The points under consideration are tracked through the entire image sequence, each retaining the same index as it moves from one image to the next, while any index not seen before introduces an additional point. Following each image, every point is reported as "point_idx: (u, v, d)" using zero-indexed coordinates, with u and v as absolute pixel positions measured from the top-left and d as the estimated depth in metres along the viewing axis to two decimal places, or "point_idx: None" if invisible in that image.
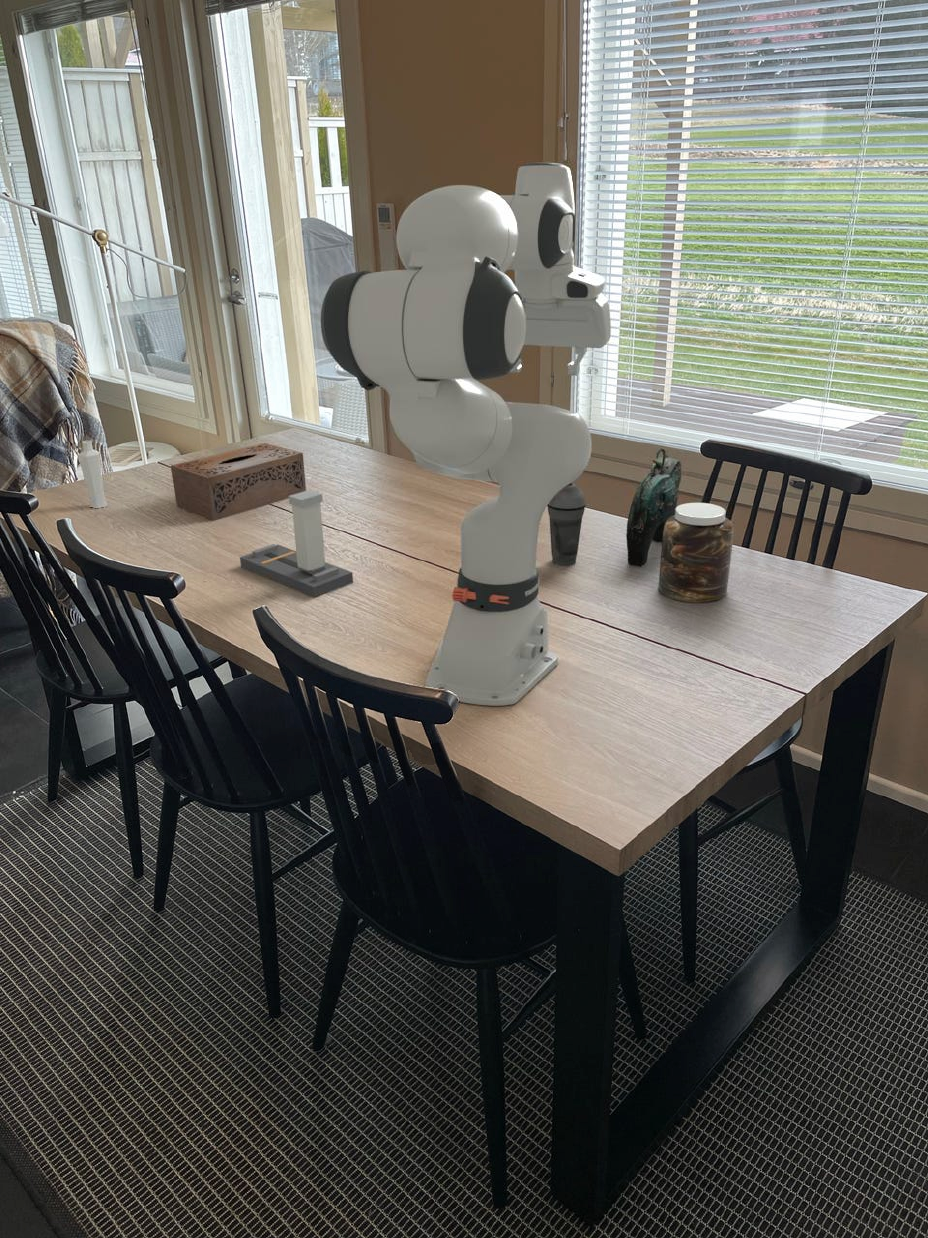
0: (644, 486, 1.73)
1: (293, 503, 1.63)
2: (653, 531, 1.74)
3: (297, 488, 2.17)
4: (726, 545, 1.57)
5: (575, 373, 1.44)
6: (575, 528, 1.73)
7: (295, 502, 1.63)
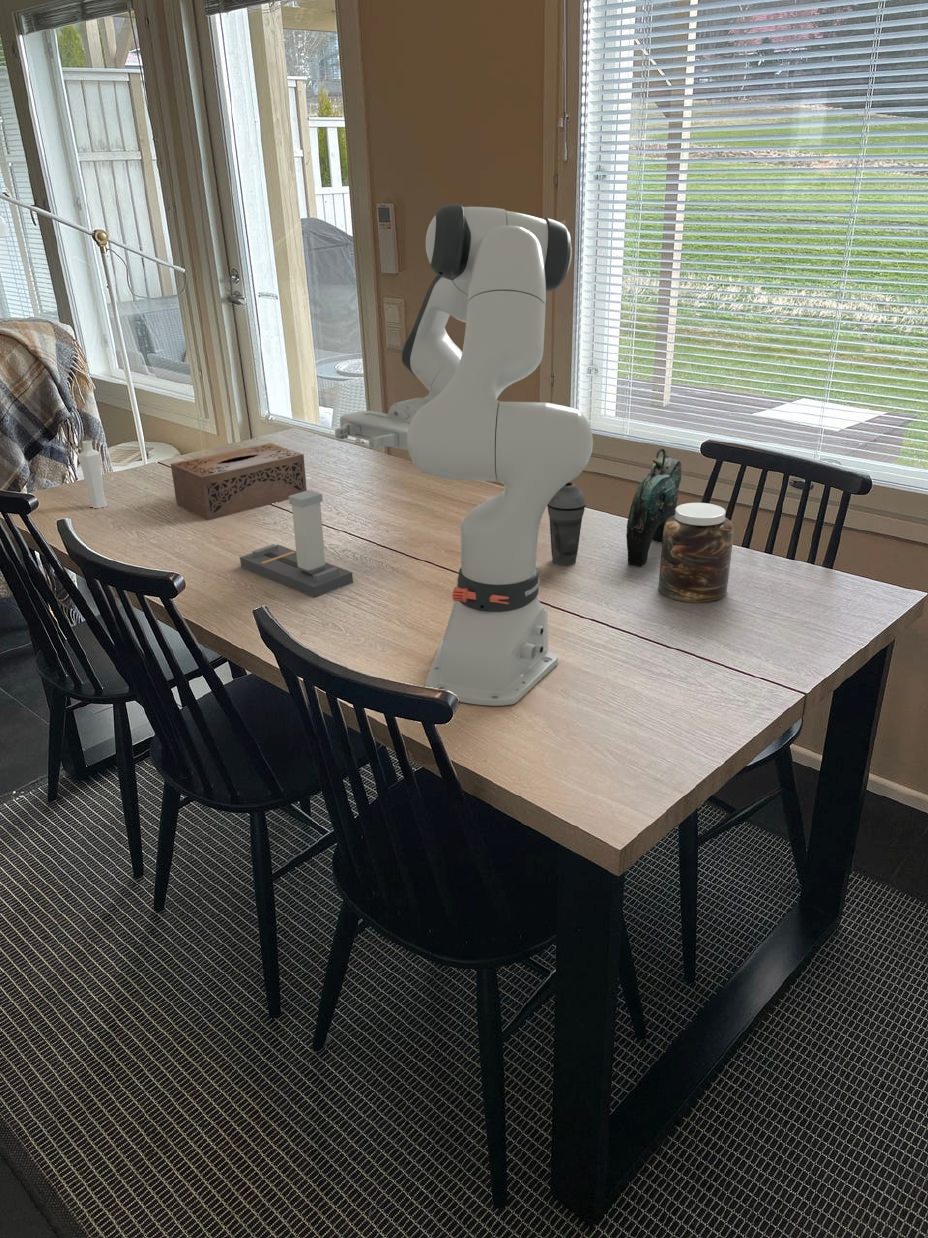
0: (644, 486, 1.73)
1: (293, 503, 1.63)
2: (653, 531, 1.74)
3: (297, 489, 2.16)
4: (726, 545, 1.57)
5: (375, 438, 1.65)
6: (575, 528, 1.73)
7: (295, 502, 1.63)
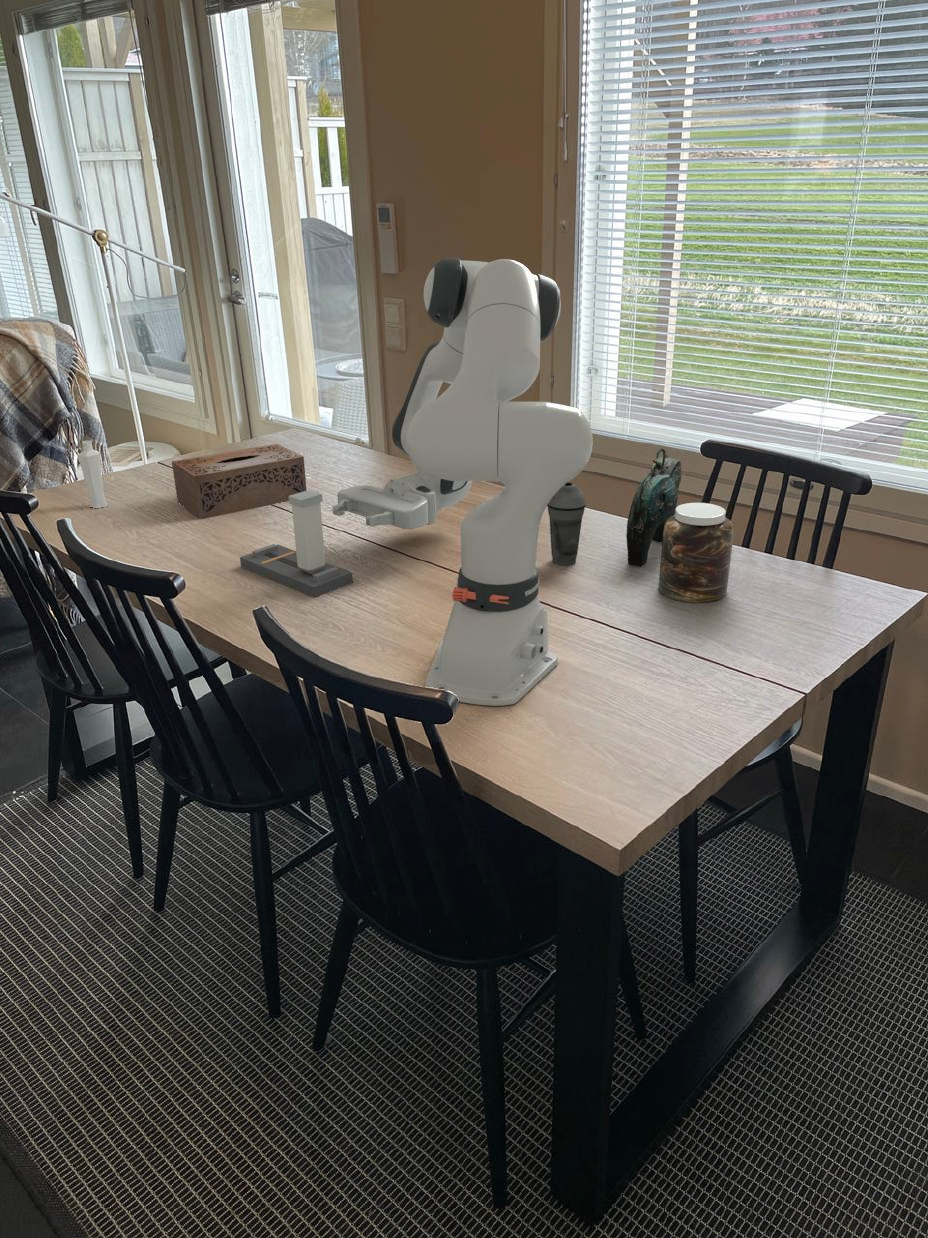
0: (644, 486, 1.73)
1: (293, 503, 1.63)
2: (653, 531, 1.74)
3: (296, 491, 2.14)
4: (726, 545, 1.57)
5: (371, 517, 1.70)
6: (575, 528, 1.73)
7: (295, 502, 1.63)
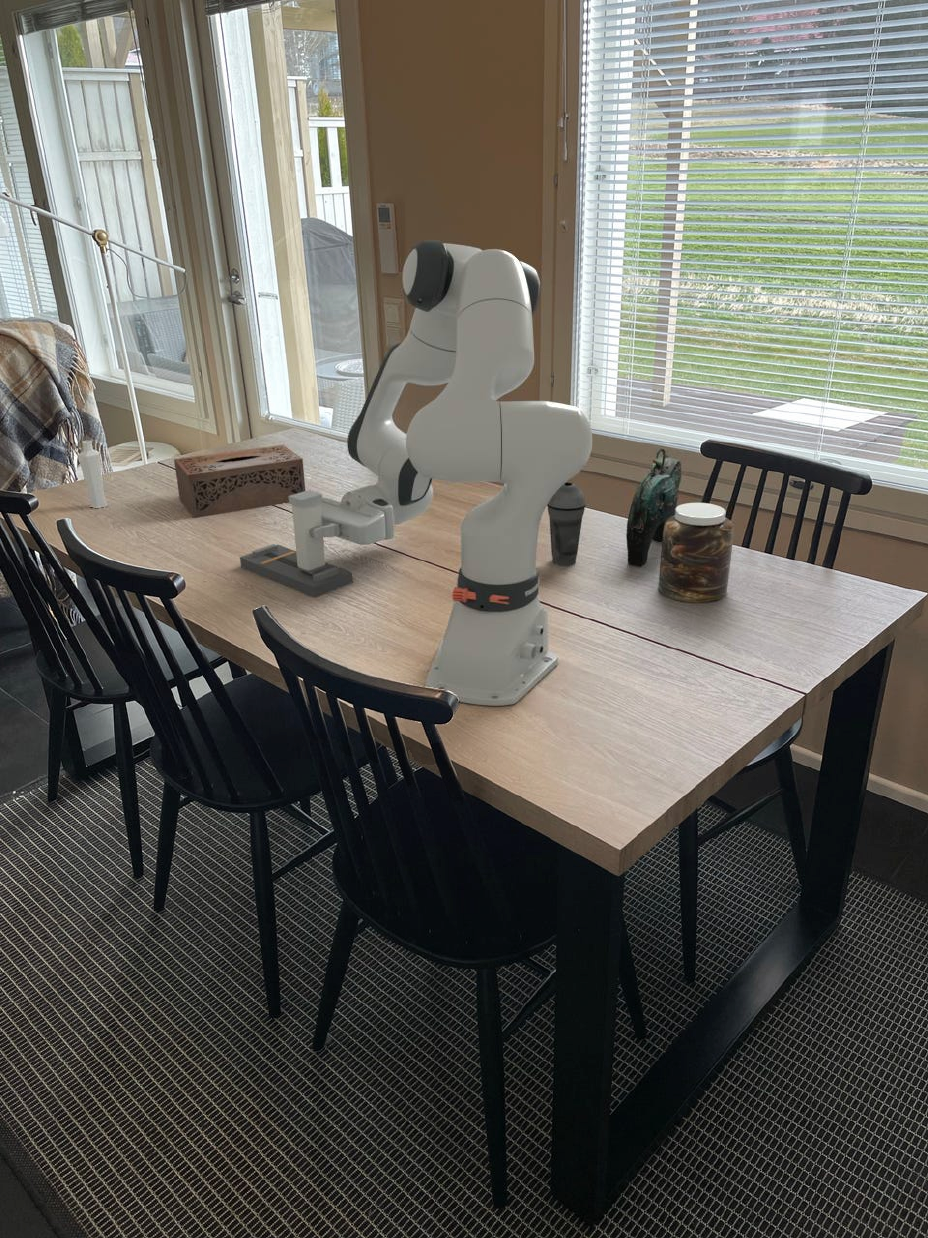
0: (644, 486, 1.73)
1: (293, 503, 1.63)
2: (653, 531, 1.74)
3: (295, 493, 2.13)
4: (726, 545, 1.57)
5: (315, 529, 1.64)
6: (575, 528, 1.73)
7: (295, 502, 1.63)
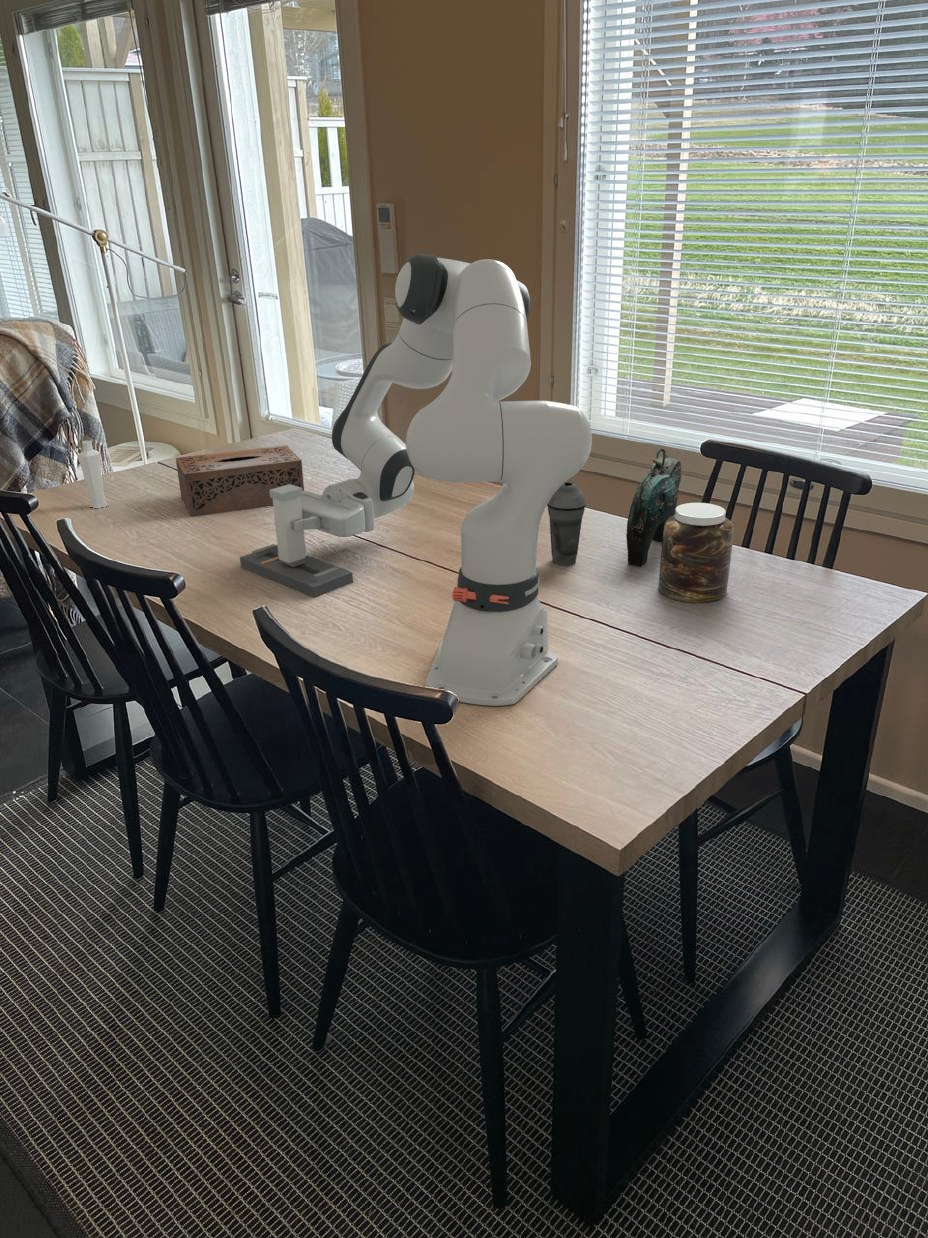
0: (644, 486, 1.73)
1: (274, 497, 1.66)
2: (653, 531, 1.74)
3: None
4: (726, 545, 1.57)
5: (296, 522, 1.68)
6: (575, 528, 1.73)
7: (276, 496, 1.66)
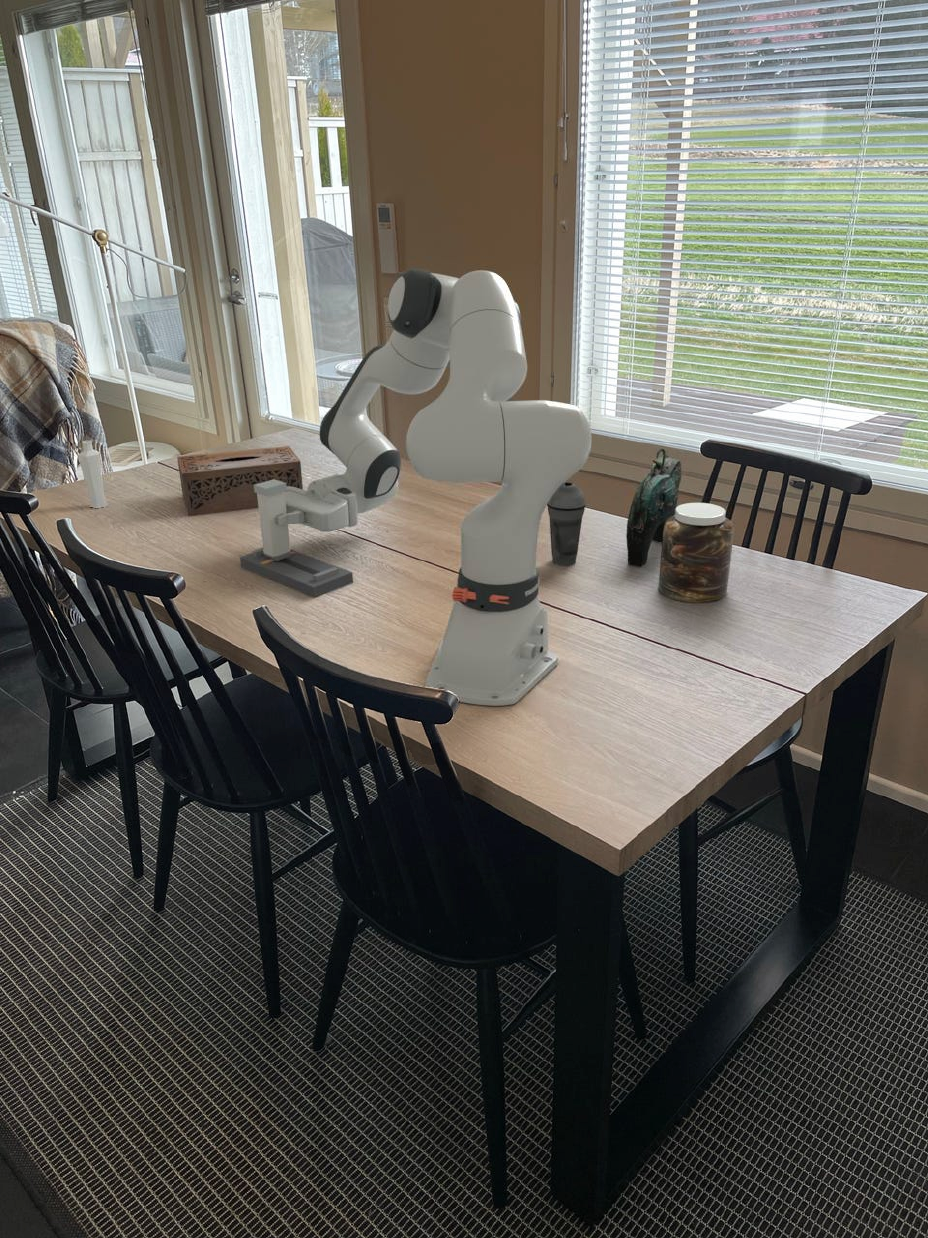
0: (644, 486, 1.73)
1: (258, 492, 1.69)
2: (653, 531, 1.74)
3: None
4: (726, 545, 1.57)
5: (280, 516, 1.71)
6: (575, 528, 1.73)
7: (260, 491, 1.69)
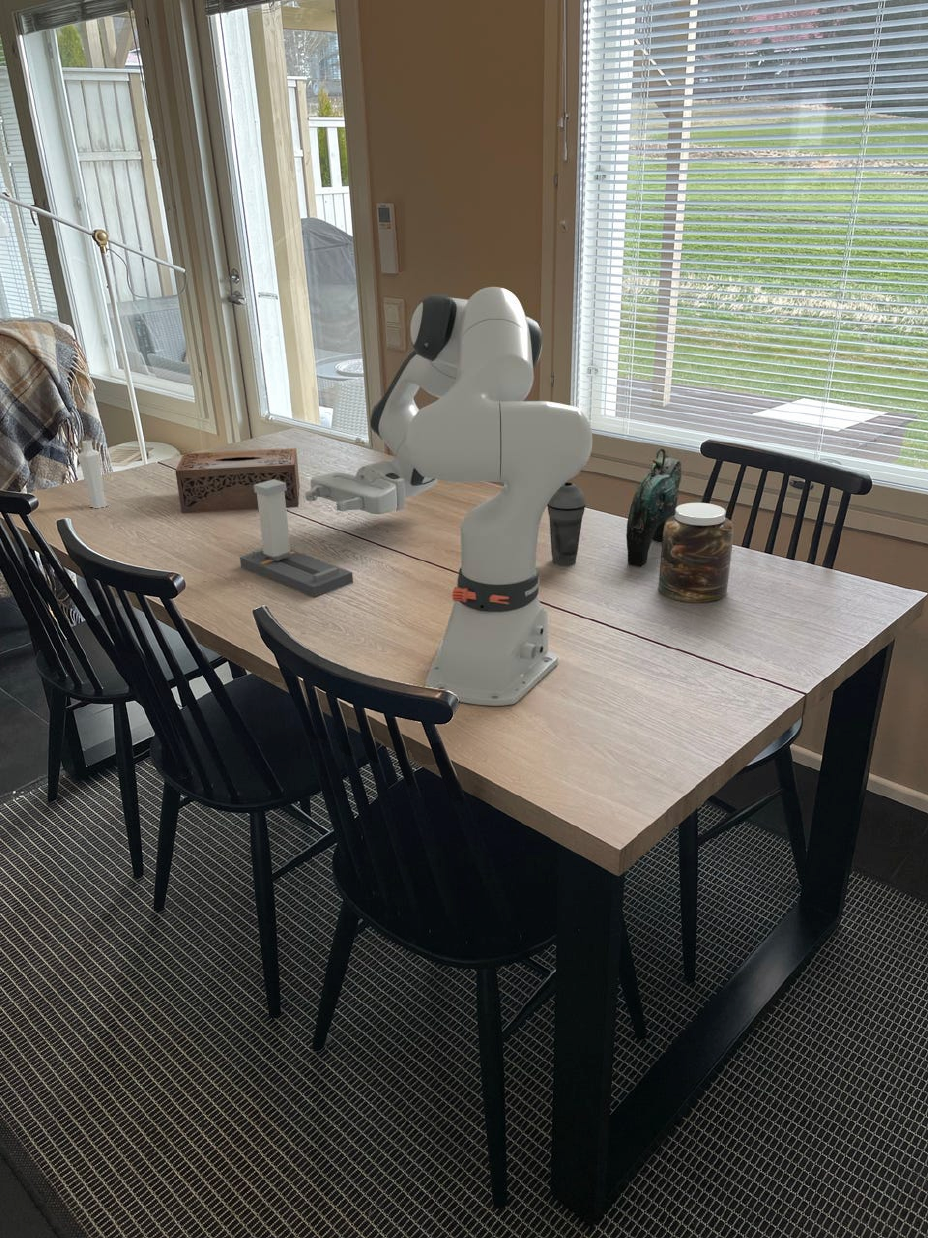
0: (644, 486, 1.73)
1: (258, 492, 1.69)
2: (653, 531, 1.74)
3: (286, 499, 2.09)
4: (726, 545, 1.57)
5: (342, 502, 1.78)
6: (575, 528, 1.73)
7: (260, 491, 1.69)
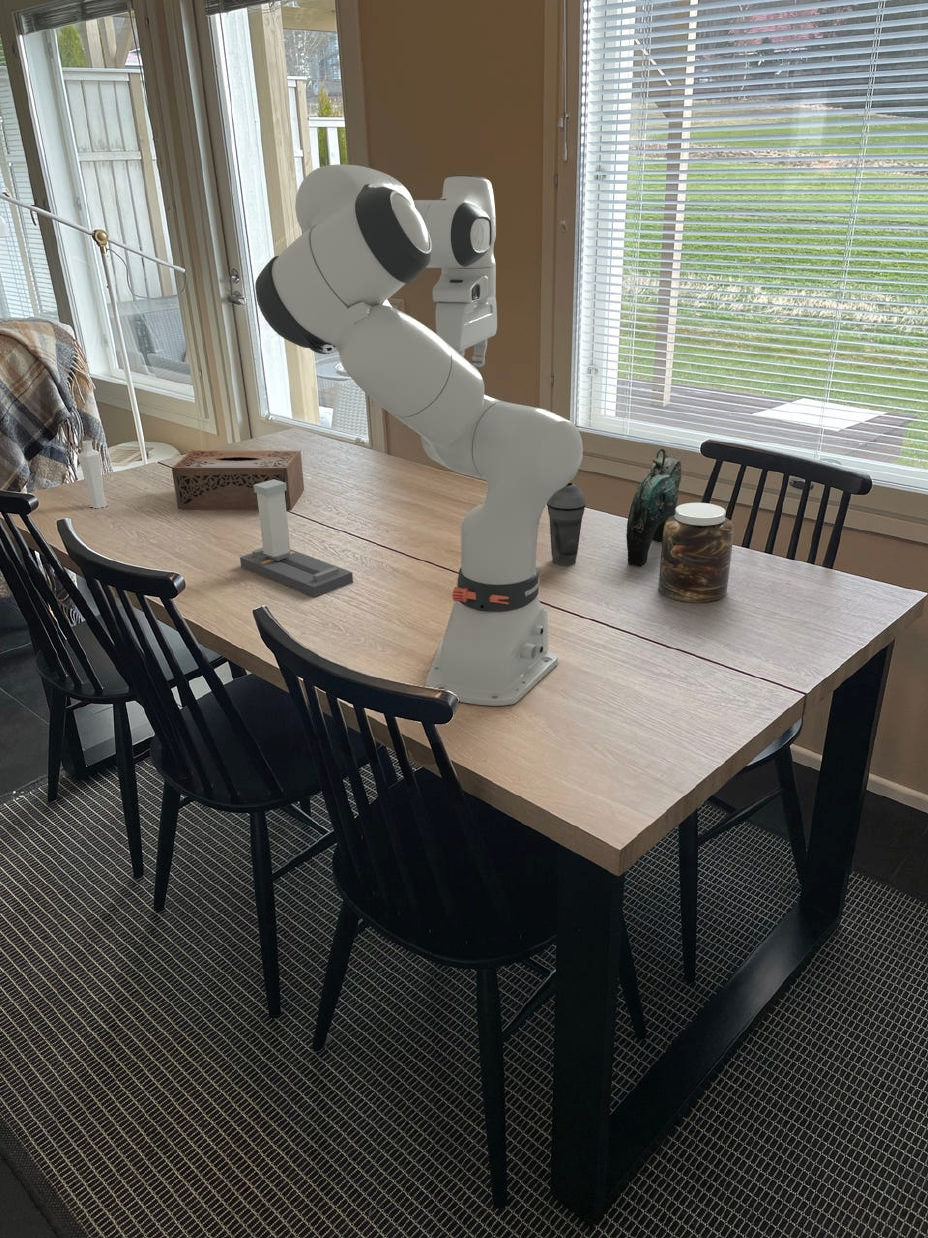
0: (644, 486, 1.73)
1: (258, 492, 1.69)
2: (653, 531, 1.74)
3: None
4: (726, 545, 1.57)
5: None
6: (575, 528, 1.73)
7: (260, 491, 1.69)
